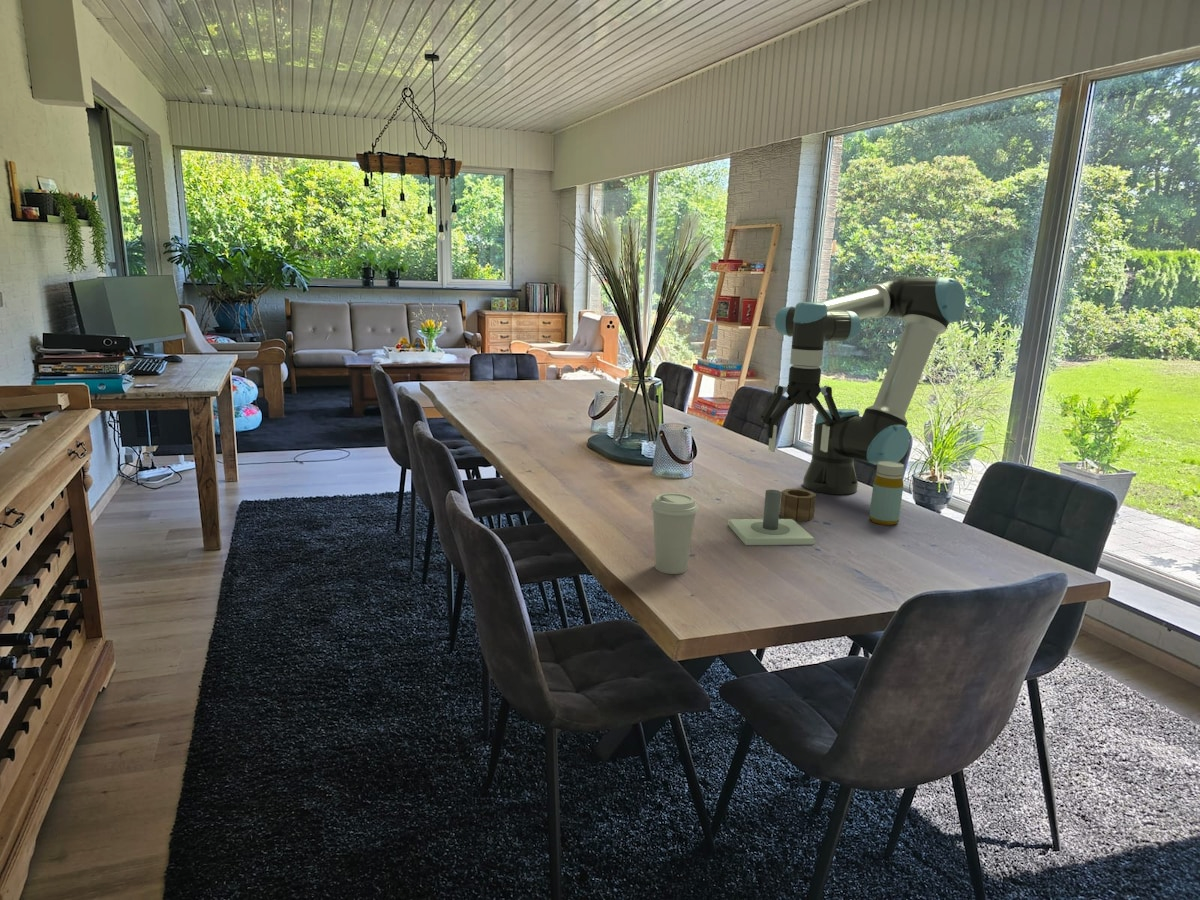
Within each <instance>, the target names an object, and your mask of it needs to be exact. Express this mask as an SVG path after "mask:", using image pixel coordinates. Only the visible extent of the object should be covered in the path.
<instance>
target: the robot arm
mask: <svg viewBox="0 0 1200 900" xmlns="http://www.w3.org/2000/svg"><path fill="white" fill-rule="evenodd" d="M965 308H966V295H965V288H964V287H963V285H962V283H961V282H960V281H959V280H957V279H956V278H952V277H945V276H939V277H938V276H935V277H934V276H931V277H929V276H911V275H910V276H901V277H900V276H899V277H896V278H892V279H888V280H885V281H882V282H877V283H873V284H870V285H869V286H867V287H866V288H864V290H861V291H857V292H853V293H849V294H846V295H841V296H838V297H834V298H830V299H826V300H823V301H818V302H815V301H814V302H812V301H811V302H810V301H808V302H807V301H800V302H797V304H796V305H795V307H794V306H784V307H782V308H780V309H779V310H778V311H777V313H776V315H775V319H774V326H775V329H776V332H778V334H780V335H783V336H788V337H790V338H792V339H791V349H790V361H789V364H790V365H791V366H790V367H789V371H788V384H787V386H781V385H779V384H776V385H775V386H774V390H773V391H774V392H773V394H772V396H771V398H770V400H769V401H768V403H767V405H766V407H765V409H764V410H763V412H762V414H761V415H760V417H759V421H760V422H761V423H763V424H766V430H765V431H766V433H765V436H766V438H767V439H768V451H770V452H771V453H775V452H776V442H777V431H778V426H777V425H775V424H776V423H777V422H778V421H779V420H780V419H781V418H782V417H783V416H784V415H785V414H786V412H787V411H788V410H789V409H790V408H791V407H792V406H794V405H795V404H796V405H807V406H809V405H812V406H813V407H814V408H815V410H816V411H817V413H816V416H815V422H814V429H813V440H812V441H813V442H812V443H813V444H812V454H811V461H810V463H809V465H808V467H807V469H806V472H805V474H804V475H803V480H802V482H803V483H802V485H803V487H804V488H806V489H807V490H809V491H812V492H813V491H814V492H817V493H821V494H827V495H828V494H830V495H848V494H849V495H850V494H853V493H854V494H855V493H856V492H857V491H858V486H859V485H858V478H857V475H856V470H855V466H854V461H855V460H858V461H862V462H867V463H870V464H872V465H875V466H877V464H878V462H880V461H892V462H898V463H899V462H900V461H901V460H902V459H903V458H904V456H905V455H906V453H907V452H908V450H909V447H910V443H911V440H910V438H911V433H910V431H909V429H908V428H907V426H908V419H906V413H907V411H908V408H909V406H910V404H911V401H912V398H913V396H914V394H915V391H916V388H917V386H918V384H919V381H920V379H921V377H922V374H923V372H924V369H925V366H926V365H927V362H928V360H929V357H930V355H931V352H932V350H933V347H934V345H935V342H936V340H937V338H938V336H939V335H942V334H945V333H946V331H947V329H948V327H949V324H950V323H951V324H954V323H956V322H958V321H959V320H960V319H961V318H962V317H963V315H964V311H965ZM867 318H873V319H881V318H897V319H899V318H900V319H902V321H903V323H904V325H905V327H904V330H903V332H902V333H901V337H900V339H899V341H898V344H897V347H896V348H895V352H894V354H893V356H892V359H891V361H890V364H889V365H888V368H887V371H886V373H885V376H884V378H883V381H882V383H881V385H880V388H879V390H878V393H877V395H876V398H875V400H874V402H873V404H872V405H870V406H868V407H866V408H865V409H864V411H863V414H862V416H861V414H860V410H858V409H851V408H837V405H836V402H835V400H834V398H833V388H832V387H831V386H829V385H824V386H820V384H821V376H822V369H821V368H820V367H821V366H823V354H824V353H823V352H824V343H825V342H845V341H846V342H847V341H852V340H854V339H855V338H856V337H857V336H858V335H859V333H860V332H861V326H862V324H861V323H862V322H861V320H864V319H867ZM785 393H786V394H787V397H786V398H784V400H783V402H782V403H781V404H780V405H779V406H778V404H779V402H780V401H781V399H782V396H784V395H785ZM820 393H821V395H822V396H823V399H824V400H825V403H826V406H827V408H828V409H825V408H824V406H823V405H822V404H821V401H820V400H819V399H818V398H817V397H818V396H819V395H820ZM777 406H778V408H776V407H777ZM775 409H776V410H775Z"/></svg>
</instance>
